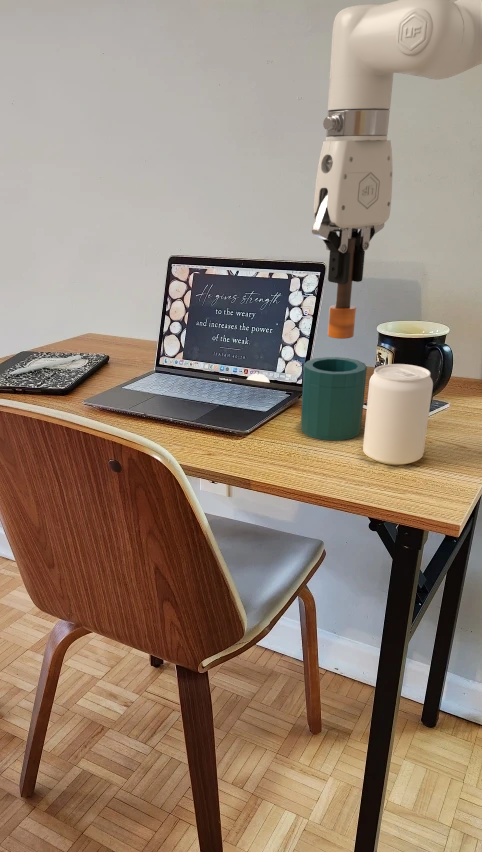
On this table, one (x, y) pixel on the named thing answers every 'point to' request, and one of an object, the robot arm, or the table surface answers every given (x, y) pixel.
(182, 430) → the table surface
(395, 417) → the beverage can
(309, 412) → the jar
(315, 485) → the table surface
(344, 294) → the brown and orange pestle
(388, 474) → the table surface
